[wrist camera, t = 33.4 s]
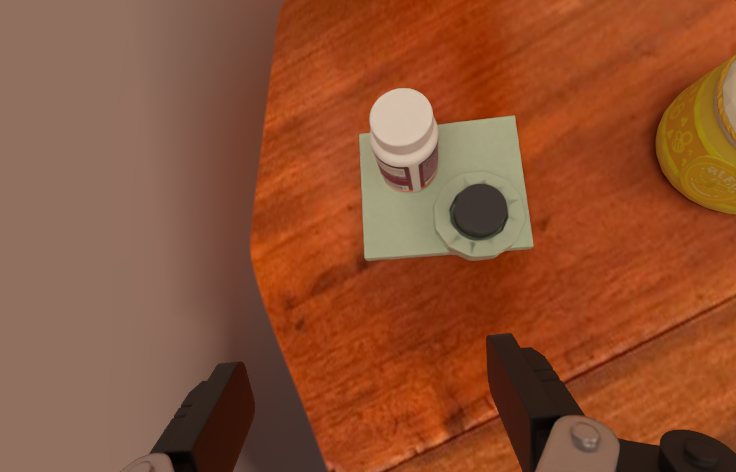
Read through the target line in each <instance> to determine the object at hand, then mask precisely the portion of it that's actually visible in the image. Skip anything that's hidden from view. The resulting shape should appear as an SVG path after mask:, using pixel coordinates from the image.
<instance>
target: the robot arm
mask: <svg viewBox="0 0 736 472" xmlns="http://www.w3.org/2000/svg"><path fill="white" fill-rule="evenodd" d="M486 348H487V371H488V382H489V387H490V391H491V395H492V397H493V400H494V402H495V405H496V407H497V410H498V412H499V415H500V417H501V419H502V422H503V424H504V427H505V429H506V432H507V434H508V437H509V439H510V442H511V444H512V446H513V449H514V451H515V454H516V456H517V459H518V461H519V464H520V466H521V468H522V471H523V472H736V454H735V453H734V452H733V451H732V450H731V449H730V448H728V447H727V446H726V445H724V444H723V443H721V442H719V441H718V440H716V439H714V438H712V437H710V436H707V435H705V434H702V433H699V432H695V431H690V430H672V431H669V432H667V433H665V434H664V435H663V436H662V438H661V440H660V446H657V445H651V444H645V443H639V442H633V441H627V440H623V439H619V438H617V436H616V435H615V433H614V432H613V431H612V430H611V429H610V428H609V427H607V426H606V425H605V424H603V423H601V422H599V421H598V420H595V419H593V418H590V417H586V416H585V415H584V413H583V412H582V410H581V409H580V407H579V406H578V404H577V403H576V401H575V400H574V399H573V397H572V396H571V394H570V393H569V391H568V390H567V388H566V387H565V385H564V384H563V382H562V381H561V380H560V379H559V377H558V375H557V374H556V372H555V371H553V368H552V366H551V365H550V364H549V362H548V361H547V359H546V358H545V356H543V355H542V354H540V353H539V352H537V351H536V350H534V349H533V348H531V347H528V348H520V346H519V345H518V343H517V341H516V340H515V338H514V337H513V335H512V334H511V333H505V334H496V335H487V337H486ZM254 412H255V402H254V397H253V393H252V390H251V386H250V382H249V379H248V375H247V371H246V367H245V365H244V363H243V362H232V363H222V364H218V365H217V366H216V368H215V369H214V371H213V373H212V374H211V376H210V378H209V379H208V381H202V382H201V383H200V384H199V385H198V386H196V387H195V388H194V389H193V390H192V391H191V392H189V394H188V395H187V397H186V398H185V400H184V401H183V403H182V405H181V408H179V409H178V411H177V412H176V414H175V415H174V418H173V419H172V420H171V421H170V423H169V425H168V426H167V428H166V429H165V430H164V432H163V434H162V435H161V437H160V438H159V440H158V441H157V443H156V444H155V446H154V447H153V449H152V450H151V452H150V453H149V454H148V455H145V456H143V457H141V458H138V459H136V460H135V461H133V462H132V463H130V464H129V465H127V466H126V467H125V468H124V469H123V470H122V471H121V472H233V470H234V467H235V465H236V462H237V459H238V457H239V454H240V452H241V449H242V447H243V444H244V441H245V439H246V436H247V434H248V431H249V429H250V426H251V423H252V421H253V417H254Z"/></svg>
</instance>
